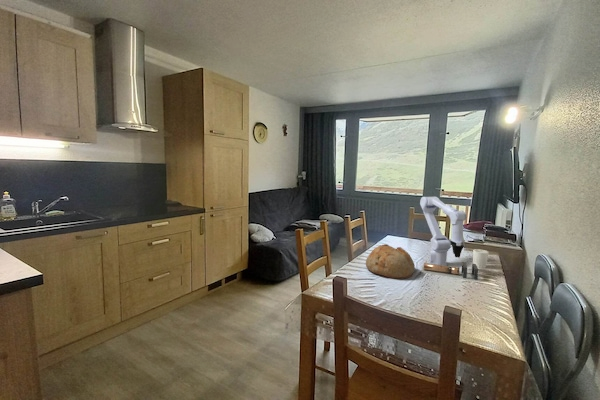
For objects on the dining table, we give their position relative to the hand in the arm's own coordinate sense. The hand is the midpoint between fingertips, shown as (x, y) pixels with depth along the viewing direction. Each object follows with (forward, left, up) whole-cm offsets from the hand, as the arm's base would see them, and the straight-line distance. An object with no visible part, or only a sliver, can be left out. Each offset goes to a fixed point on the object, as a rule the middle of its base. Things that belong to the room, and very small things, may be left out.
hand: (456, 255), depth 158 cm
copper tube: (-8, -5, -9) cm, 13 cm away
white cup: (+14, +16, -10) cm, 24 cm away
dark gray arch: (+4, -5, -9) cm, 11 cm away
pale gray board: (-3, -5, -10) cm, 12 cm away
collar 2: (+9, -5, -9) cm, 14 cm away
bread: (-35, -15, -10) cm, 39 cm away
